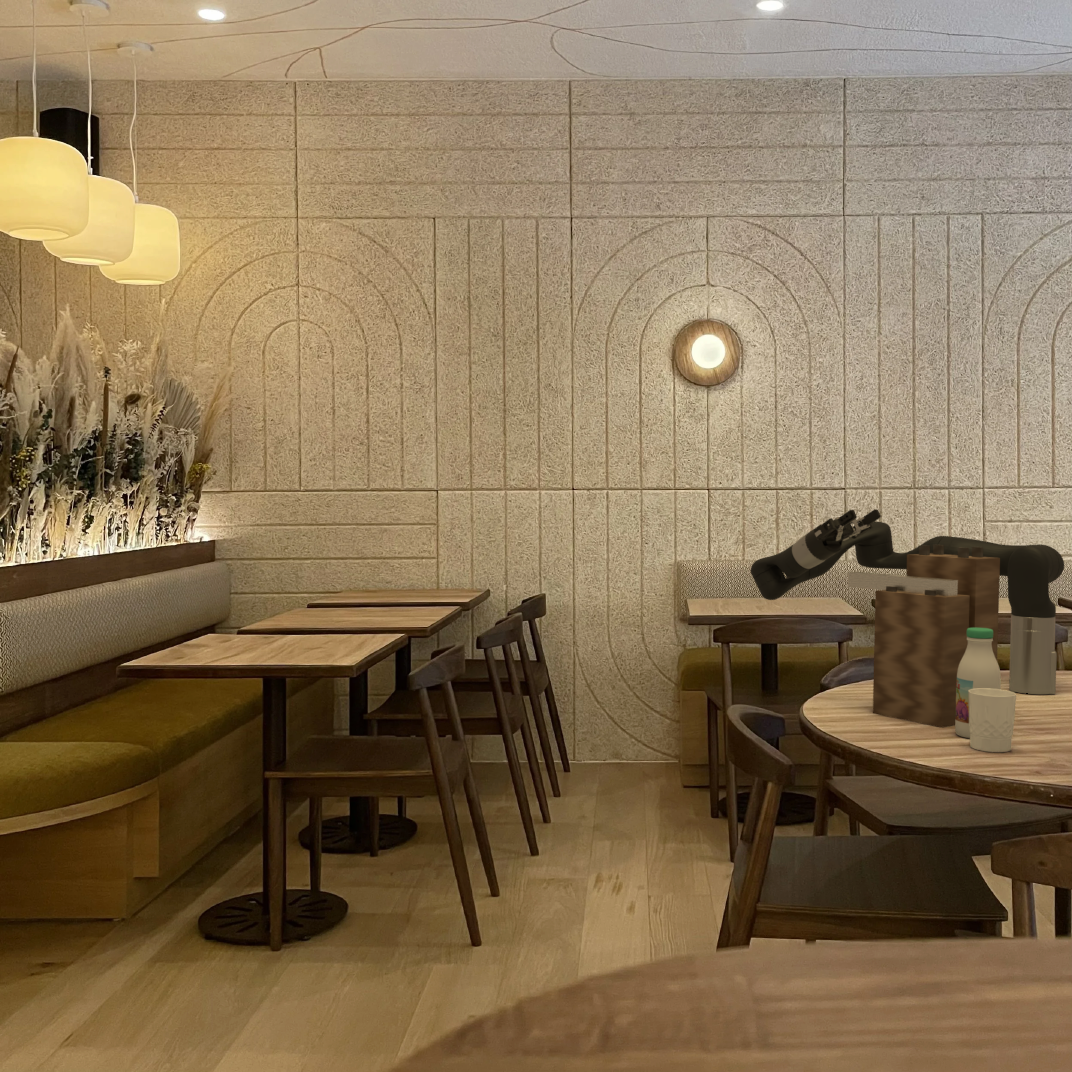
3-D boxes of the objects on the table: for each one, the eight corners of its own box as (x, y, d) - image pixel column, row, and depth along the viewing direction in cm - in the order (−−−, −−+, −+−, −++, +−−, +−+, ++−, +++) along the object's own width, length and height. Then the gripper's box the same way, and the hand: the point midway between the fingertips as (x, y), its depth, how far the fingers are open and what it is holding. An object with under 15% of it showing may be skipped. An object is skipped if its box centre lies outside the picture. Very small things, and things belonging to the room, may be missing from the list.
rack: (872, 713, 232) (876, 546, 230) (926, 704, 242) (930, 544, 241) (941, 727, 219) (946, 550, 217) (995, 716, 230) (1000, 547, 228)
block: (847, 586, 240) (847, 572, 239) (856, 585, 241) (857, 571, 241) (948, 596, 220) (948, 580, 220) (957, 595, 222) (957, 580, 222)
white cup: (958, 743, 205) (960, 688, 205) (1001, 743, 206) (1002, 688, 206) (979, 753, 198) (981, 696, 197) (1023, 753, 198) (1024, 696, 198)
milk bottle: (998, 733, 214) (1001, 627, 213) (1000, 742, 207) (1003, 632, 206) (954, 730, 217) (957, 625, 216) (955, 738, 209) (958, 629, 209)
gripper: (790, 533, 265) (839, 498, 253) (829, 532, 273) (879, 498, 262) (802, 562, 262) (853, 528, 250) (842, 560, 270) (893, 527, 259)
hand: (866, 513), depth 256 cm, fingers open, 8 cm apart
